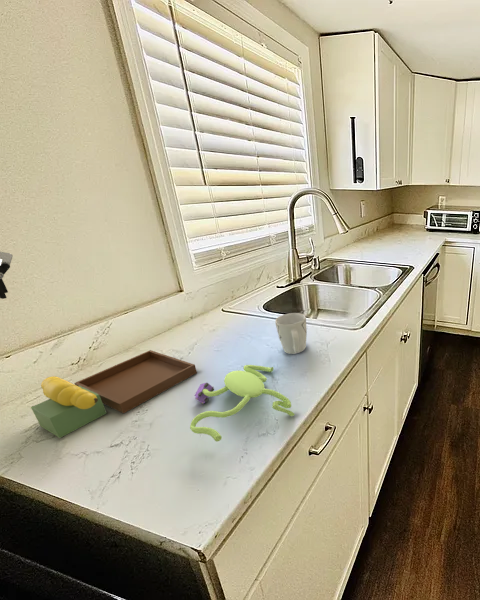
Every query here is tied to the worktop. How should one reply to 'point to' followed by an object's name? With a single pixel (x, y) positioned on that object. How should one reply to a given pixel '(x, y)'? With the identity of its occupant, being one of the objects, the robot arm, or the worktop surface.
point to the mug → (292, 332)
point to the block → (66, 415)
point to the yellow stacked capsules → (67, 393)
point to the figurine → (241, 385)
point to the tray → (137, 379)
